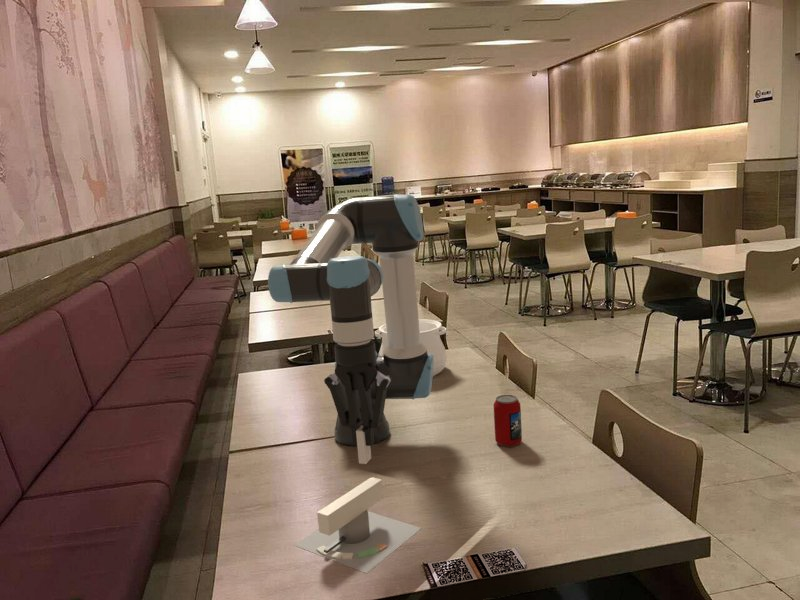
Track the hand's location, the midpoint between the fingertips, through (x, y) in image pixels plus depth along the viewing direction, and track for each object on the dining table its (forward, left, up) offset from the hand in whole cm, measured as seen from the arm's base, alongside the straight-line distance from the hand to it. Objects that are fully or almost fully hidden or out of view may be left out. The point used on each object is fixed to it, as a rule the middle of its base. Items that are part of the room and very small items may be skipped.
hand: (365, 460), depth 125 cm
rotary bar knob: (-2, -2, -15) cm, 16 cm away
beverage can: (+3, +53, -17) cm, 55 cm away
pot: (-56, +94, -17) cm, 111 cm away
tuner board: (-1, -2, -16) cm, 17 cm away
